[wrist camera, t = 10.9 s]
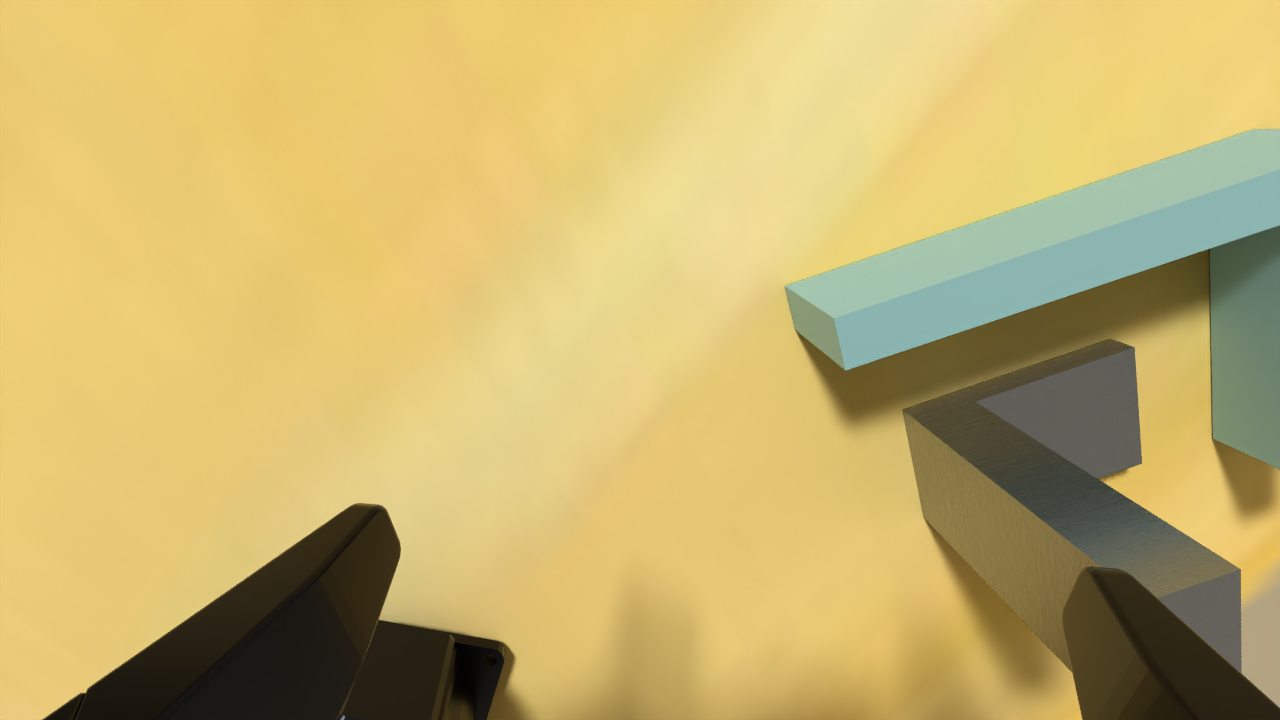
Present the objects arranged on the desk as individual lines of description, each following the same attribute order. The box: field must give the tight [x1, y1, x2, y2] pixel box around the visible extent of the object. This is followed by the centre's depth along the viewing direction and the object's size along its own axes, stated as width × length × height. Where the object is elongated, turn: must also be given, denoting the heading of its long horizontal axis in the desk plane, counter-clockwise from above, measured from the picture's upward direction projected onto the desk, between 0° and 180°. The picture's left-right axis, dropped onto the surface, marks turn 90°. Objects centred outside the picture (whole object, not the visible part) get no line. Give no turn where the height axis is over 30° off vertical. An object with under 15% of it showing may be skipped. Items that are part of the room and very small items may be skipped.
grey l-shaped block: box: [903, 339, 1241, 673], centre depth 19 cm, size 8×4×10 cm, turn 108°
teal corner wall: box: [785, 129, 1280, 469], centre depth 21 cm, size 16×11×4 cm
